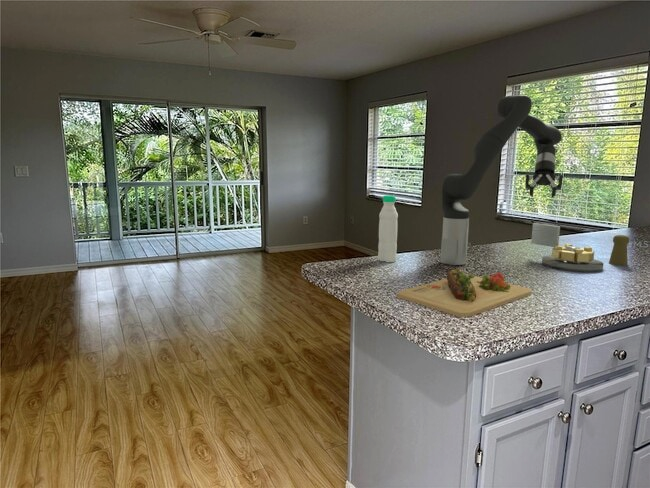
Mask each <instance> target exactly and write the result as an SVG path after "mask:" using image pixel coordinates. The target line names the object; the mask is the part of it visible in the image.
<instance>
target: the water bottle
mask: <svg viewBox="0 0 650 488" xmlns="http://www.w3.org/2000/svg"><path fill="white" fill-rule="evenodd" d="M382 203H383V205H382V208H381V210H380V212H379V214H378V215H379V220H378V221H379V222H378V246H377V250H378V254H377V260H378V261H379V260H380V261H379V262H381V261H388V262H387V263H394V262H393V261H395V262H396V261H397V255H398V254H397V250H398V245H397V243H398V218H399V214H398V212H397V209H396V207H395V203H396V196H395V195H383V196H382Z"/></svg>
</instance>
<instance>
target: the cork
mask: <svg viewBox="0 0 650 488" xmlns="http://www.w3.org/2000/svg"><path fill="white" fill-rule="evenodd" d="M630 241H631V239H630V237H629V236H628V235H622V234H617V235H614V236H613V237H612V242H613V247H612V250H611V253H610V258H609V261H608V264H609V265H612V266H621V267H622V266H623V267H626V266H628V265H629V264H628V244H629V243H630Z"/></svg>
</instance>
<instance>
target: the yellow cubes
mask: <svg viewBox="0 0 650 488" xmlns="http://www.w3.org/2000/svg"><path fill="white" fill-rule="evenodd" d="M560 232H561V226H559V225H553V224H552V225H551V224H546V223H537V222H536V223H535V222H534V223H532V231H531V241H530V243H531V245H539V246H543V247H551V248H552V250H551V255H552V257H554V258H556V259H561V260H566V261H573V262H574V261H576V262H589V261H592V260H594V259H595V251H594V250H593V247H592V246H584V247H580V249H574V252H572V251H566V248H567V246H574V245H573V244H572V243H564V246H562V245H559V244H560Z"/></svg>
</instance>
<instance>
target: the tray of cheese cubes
mask: <svg viewBox="0 0 650 488" xmlns="http://www.w3.org/2000/svg"><path fill="white" fill-rule="evenodd" d="M580 248H581V247H580V246H574V245H573V246H567V248H566V251H572V252H574V249H580ZM541 265H542V266H544V267H547V268H550V269H554V270H559V271H563V272H564V271H566V272H572V273H597V272H601V271H603V270H604V262H602V261H601V260H597V259H595V258H594V260H592V261H589V262H576V261H574V262H573V261H566V260H561V259H556V258H554V257H552V254H549V255H544V256H541Z"/></svg>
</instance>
